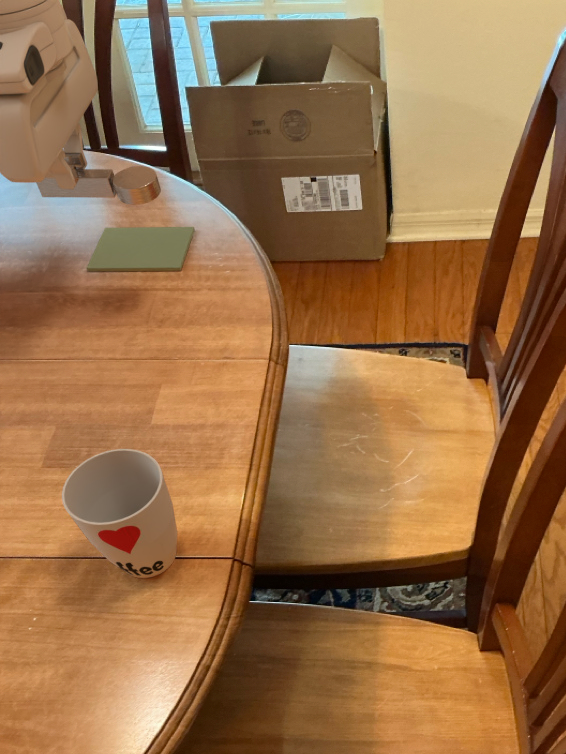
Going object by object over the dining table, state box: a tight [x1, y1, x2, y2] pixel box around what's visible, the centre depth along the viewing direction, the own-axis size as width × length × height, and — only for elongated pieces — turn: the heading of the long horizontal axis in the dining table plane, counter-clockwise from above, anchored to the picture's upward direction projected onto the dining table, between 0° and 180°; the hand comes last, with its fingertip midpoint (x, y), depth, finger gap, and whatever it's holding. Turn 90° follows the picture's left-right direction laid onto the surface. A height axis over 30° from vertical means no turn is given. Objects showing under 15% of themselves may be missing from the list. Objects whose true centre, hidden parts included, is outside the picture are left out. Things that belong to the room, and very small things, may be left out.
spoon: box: [35, 165, 162, 206], centre depth 82 cm, size 13×5×2 cm, turn 87°
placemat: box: [86, 226, 196, 272], centre depth 99 cm, size 12×9×1 cm
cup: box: [61, 448, 178, 579], centre depth 67 cm, size 8×8×10 cm
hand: (74, 178), depth 82 cm, fingers closed on spoon, 2 cm apart
